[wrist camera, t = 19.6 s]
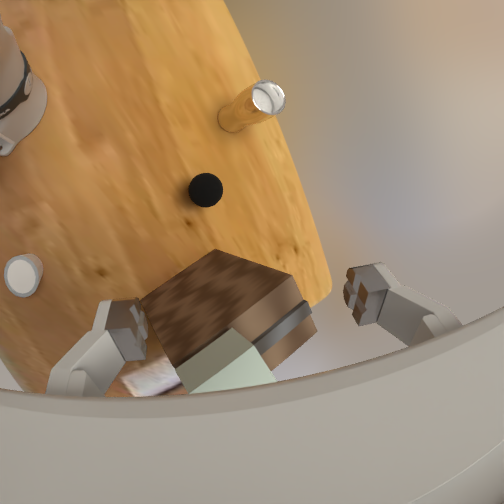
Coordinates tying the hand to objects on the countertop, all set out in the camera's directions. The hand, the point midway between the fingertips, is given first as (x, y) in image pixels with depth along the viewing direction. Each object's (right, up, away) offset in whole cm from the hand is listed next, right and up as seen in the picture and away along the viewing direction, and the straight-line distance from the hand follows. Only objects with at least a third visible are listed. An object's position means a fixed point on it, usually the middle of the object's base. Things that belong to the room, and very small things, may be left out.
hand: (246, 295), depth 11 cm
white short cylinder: (-40, -1, +31) cm, 51 cm away
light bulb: (-11, +13, +45) cm, 48 cm away
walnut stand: (-12, -7, +47) cm, 49 cm away
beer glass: (-4, +29, +46) cm, 55 cm away
